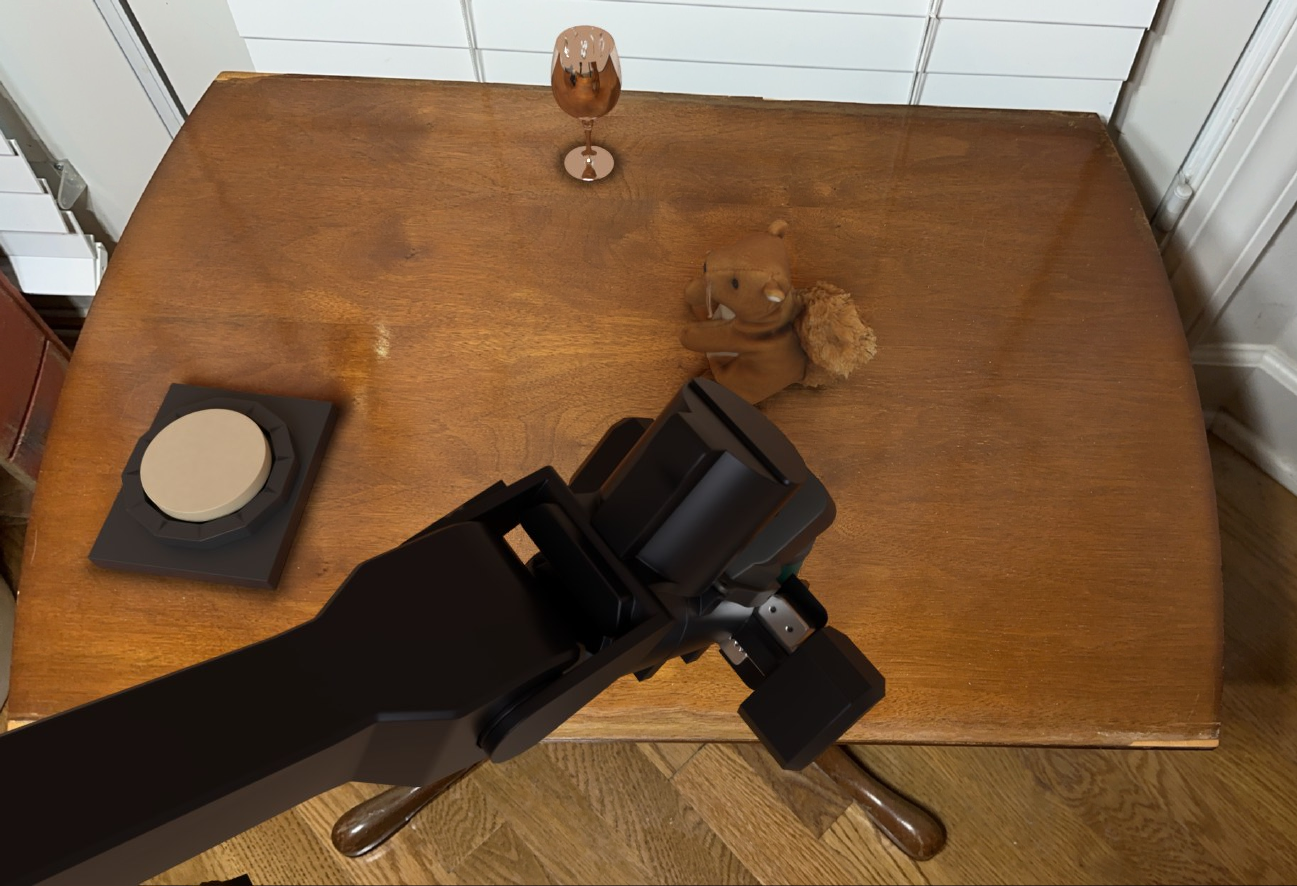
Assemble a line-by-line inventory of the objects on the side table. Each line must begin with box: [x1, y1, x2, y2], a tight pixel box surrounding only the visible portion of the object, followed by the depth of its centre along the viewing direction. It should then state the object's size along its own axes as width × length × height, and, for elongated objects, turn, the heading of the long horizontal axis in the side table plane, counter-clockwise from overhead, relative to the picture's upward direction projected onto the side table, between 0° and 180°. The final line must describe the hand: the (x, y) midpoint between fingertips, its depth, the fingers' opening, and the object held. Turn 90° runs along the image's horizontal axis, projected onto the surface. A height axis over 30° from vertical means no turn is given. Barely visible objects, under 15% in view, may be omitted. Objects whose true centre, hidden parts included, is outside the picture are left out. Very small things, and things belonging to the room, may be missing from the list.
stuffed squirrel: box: [679, 218, 878, 406], centre depth 65 cm, size 10×14×13 cm
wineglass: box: [550, 24, 623, 182], centre depth 77 cm, size 6×6×12 cm
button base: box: [87, 382, 339, 591], centre depth 63 cm, size 14×12×3 cm
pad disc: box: [140, 409, 272, 522], centre depth 61 cm, size 8×8×1 cm
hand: (782, 565), depth 53 cm, fingers closed on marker, 3 cm apart
